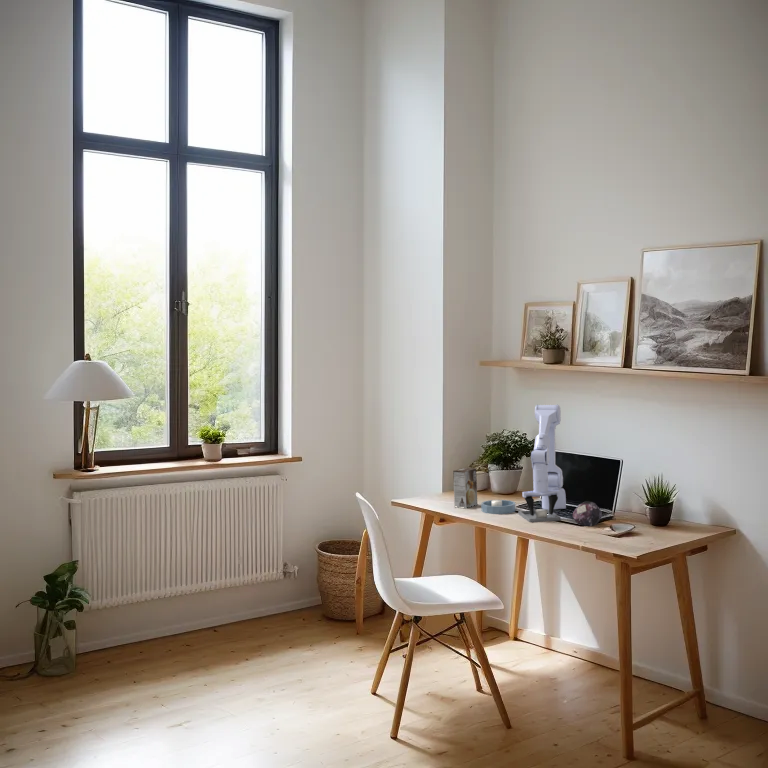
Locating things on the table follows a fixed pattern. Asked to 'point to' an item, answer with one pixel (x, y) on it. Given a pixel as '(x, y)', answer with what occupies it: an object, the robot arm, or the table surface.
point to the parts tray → (531, 518)
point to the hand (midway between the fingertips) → (541, 514)
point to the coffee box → (465, 487)
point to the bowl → (498, 507)
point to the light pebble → (496, 503)
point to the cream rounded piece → (541, 513)
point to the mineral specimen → (587, 514)
